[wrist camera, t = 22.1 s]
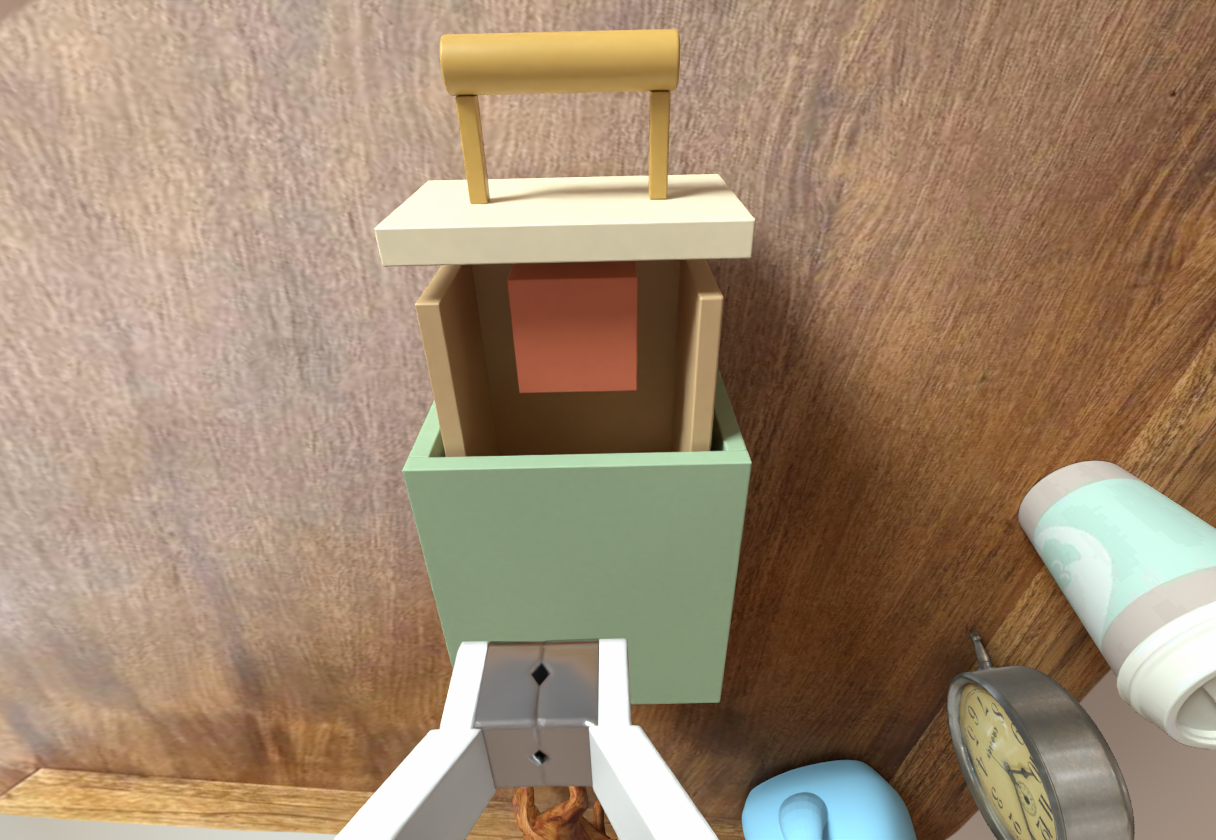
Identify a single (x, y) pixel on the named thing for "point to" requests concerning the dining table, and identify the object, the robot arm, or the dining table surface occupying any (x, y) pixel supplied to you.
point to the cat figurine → (558, 817)
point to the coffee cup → (1135, 588)
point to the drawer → (568, 257)
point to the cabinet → (591, 550)
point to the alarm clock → (1034, 757)
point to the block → (575, 326)
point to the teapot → (827, 805)
